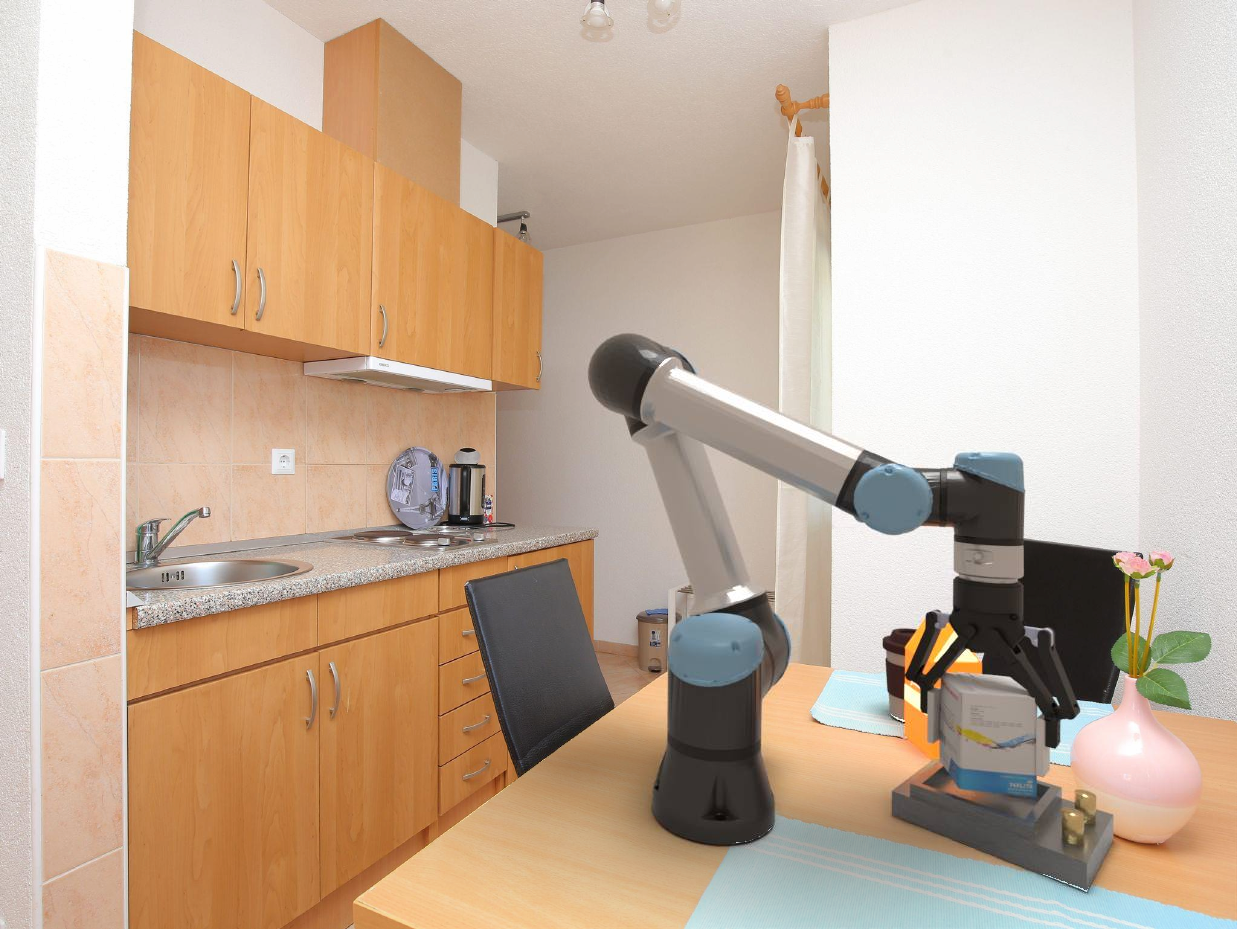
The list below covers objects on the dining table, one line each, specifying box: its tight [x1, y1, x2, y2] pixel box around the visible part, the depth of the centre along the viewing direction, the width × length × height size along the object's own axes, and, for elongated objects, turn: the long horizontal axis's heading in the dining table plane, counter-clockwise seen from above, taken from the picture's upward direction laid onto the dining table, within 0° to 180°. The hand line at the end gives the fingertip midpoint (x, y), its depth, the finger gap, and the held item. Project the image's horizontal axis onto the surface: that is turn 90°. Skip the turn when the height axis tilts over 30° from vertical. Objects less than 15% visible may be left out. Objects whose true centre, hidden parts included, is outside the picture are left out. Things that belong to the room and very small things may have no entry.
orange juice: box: [903, 618, 983, 761], centre depth 101 cm, size 8×9×20 cm
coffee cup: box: [882, 627, 918, 720], centre depth 113 cm, size 10×10×15 cm
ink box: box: [939, 672, 1038, 797], centre depth 79 cm, size 9×8×12 cm
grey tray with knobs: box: [891, 758, 1114, 890], centre depth 78 cm, size 20×14×6 cm
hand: (985, 755), depth 79 cm, fingers closed on ink box, 11 cm apart
